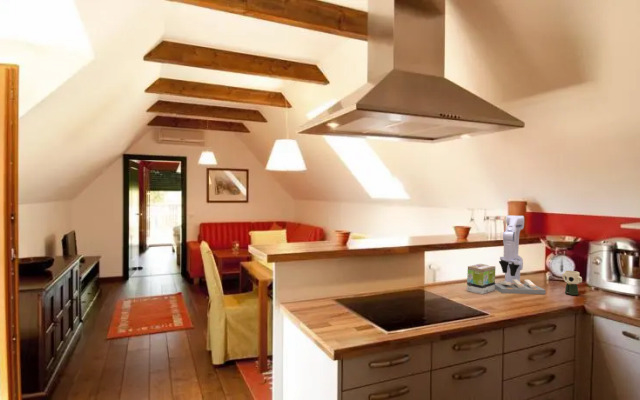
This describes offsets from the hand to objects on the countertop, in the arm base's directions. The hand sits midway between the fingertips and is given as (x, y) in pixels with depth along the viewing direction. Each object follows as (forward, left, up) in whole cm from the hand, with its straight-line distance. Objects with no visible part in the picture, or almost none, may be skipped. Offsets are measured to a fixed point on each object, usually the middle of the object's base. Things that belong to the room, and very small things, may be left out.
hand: (508, 274), depth 211 cm
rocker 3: (+1, +12, -6) cm, 13 cm away
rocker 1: (+1, -2, -6) cm, 6 cm away
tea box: (+3, -17, -10) cm, 20 cm away
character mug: (+7, +32, -10) cm, 34 cm away
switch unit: (+1, +5, -9) cm, 11 cm away
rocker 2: (+1, +5, -6) cm, 8 cm away
